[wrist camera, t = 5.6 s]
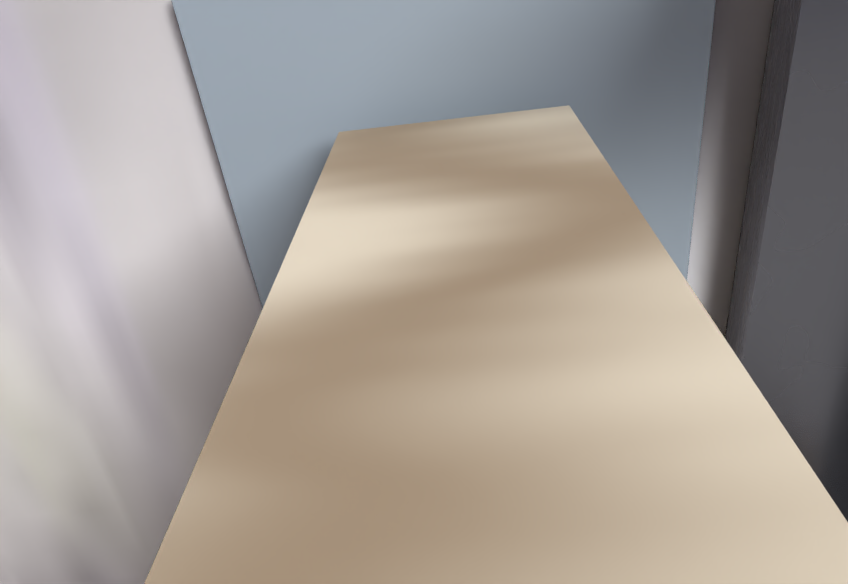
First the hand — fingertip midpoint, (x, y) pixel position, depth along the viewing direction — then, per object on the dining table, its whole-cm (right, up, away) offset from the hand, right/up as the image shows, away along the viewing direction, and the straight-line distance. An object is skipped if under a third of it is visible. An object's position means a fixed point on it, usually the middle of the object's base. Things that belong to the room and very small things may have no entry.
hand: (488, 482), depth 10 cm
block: (0, +1, +2) cm, 3 cm away
